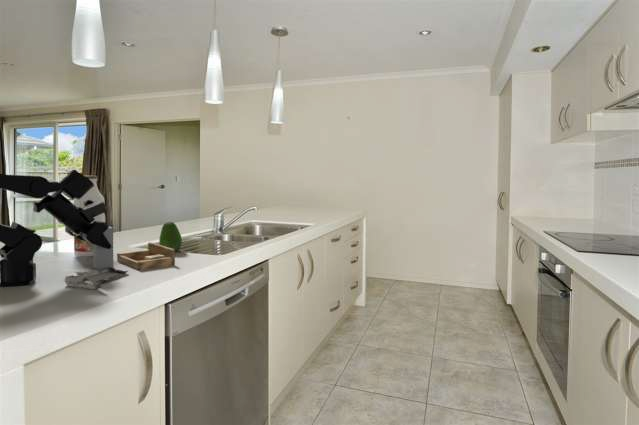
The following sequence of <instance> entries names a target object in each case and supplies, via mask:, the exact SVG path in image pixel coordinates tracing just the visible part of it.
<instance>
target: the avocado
mask: <svg viewBox="0 0 639 425" xmlns="http://www.w3.org/2000/svg"><path fill="white" fill-rule="evenodd" d="M182 240H183V239H182V236H181V232H180V230H179V228H178V226H177V225H176V224H175V222H173V221H168V222H164V224H163V225H162V227H161V230H160V235H159V243H158V245H162V246H165V247H168V248H172V249H175V253H178V252H179V251H180V249H181V248H182V244H183V241H182Z"/></svg>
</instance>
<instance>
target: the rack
mask: <svg viewBox="0 0 639 425" xmlns="http://www.w3.org/2000/svg"><path fill="white" fill-rule="evenodd" d="M158 254H160V255H164V256H165V258H160V259H153V260H145V257H146V256H152V255H158ZM175 255H176V252H175V249H172V248H168V247H165V246H162V245H160V244H159V243H158V244H157V243H154V242H147V249H145V250H137V251H136V250H135V251H127V252H120V253H117V254H116V262H118V263H121V264H123V265H125V266H128V267H130V268H132V269H135V270H137V271H145V270H153V269H159V268H166V267H171V266H175V264H176V263H175V262H176V259H175V258H176V256H175Z"/></svg>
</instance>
